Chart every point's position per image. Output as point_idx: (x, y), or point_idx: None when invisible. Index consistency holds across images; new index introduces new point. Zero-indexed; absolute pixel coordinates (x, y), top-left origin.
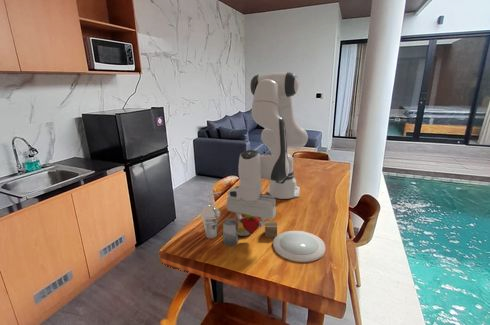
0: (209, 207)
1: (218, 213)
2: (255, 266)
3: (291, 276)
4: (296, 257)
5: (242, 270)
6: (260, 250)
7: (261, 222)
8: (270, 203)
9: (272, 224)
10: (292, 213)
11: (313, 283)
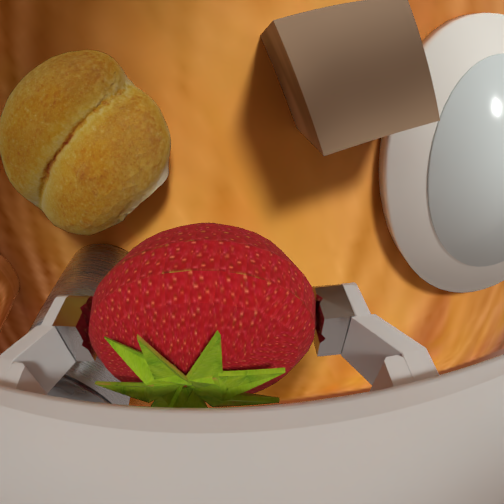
0: None
1: None
2: (328, 369)
3: (450, 346)
4: (488, 281)
5: (287, 396)
6: (318, 282)
7: (355, 362)
8: None
9: (384, 70)
10: None
11: (495, 335)
